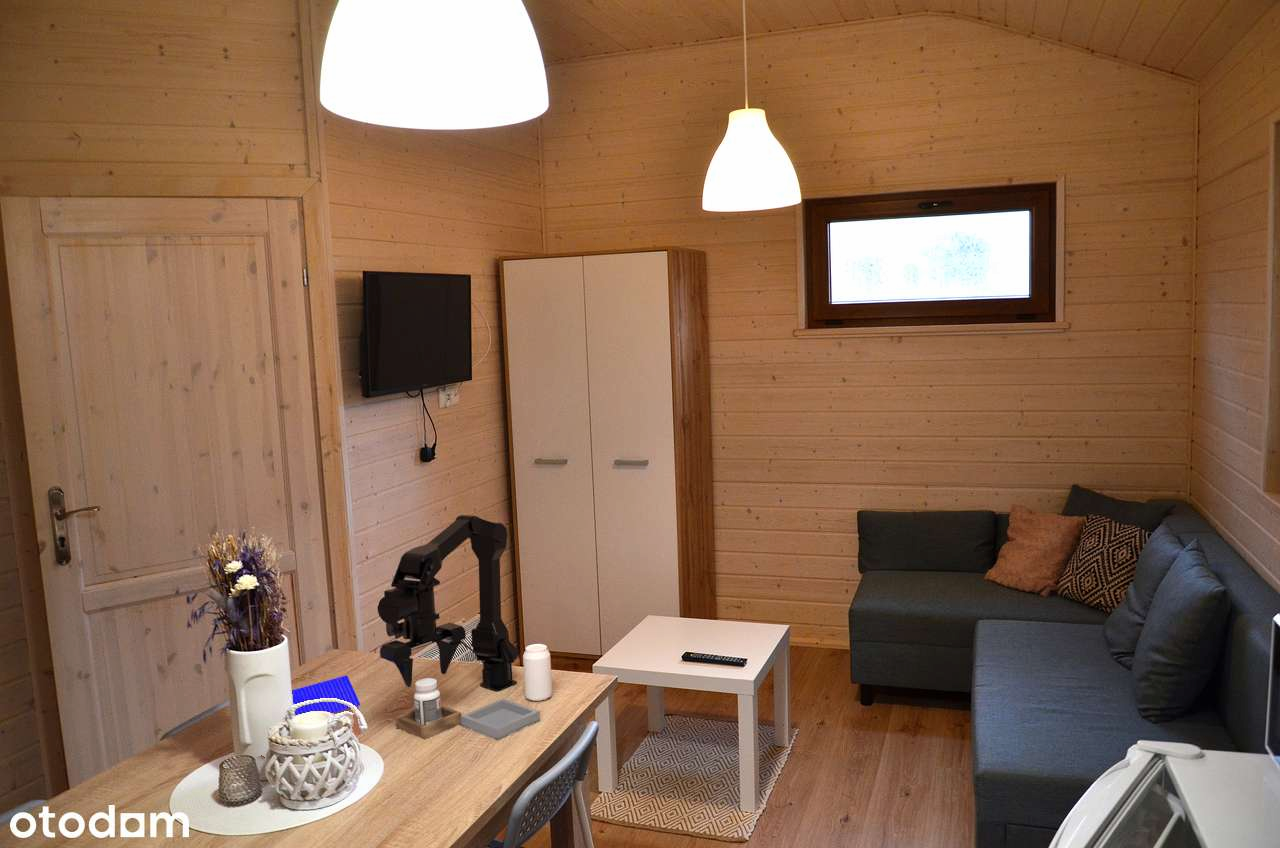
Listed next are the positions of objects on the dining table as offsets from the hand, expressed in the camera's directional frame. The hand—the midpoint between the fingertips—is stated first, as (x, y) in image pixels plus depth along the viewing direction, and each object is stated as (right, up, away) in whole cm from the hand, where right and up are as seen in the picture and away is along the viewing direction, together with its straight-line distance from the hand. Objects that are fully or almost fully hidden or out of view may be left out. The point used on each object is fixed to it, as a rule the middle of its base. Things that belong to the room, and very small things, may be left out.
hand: (426, 680), depth 214 cm
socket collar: (0, -10, +1) cm, 10 cm away
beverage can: (+23, -8, +14) cm, 28 cm away
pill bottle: (0, -10, +1) cm, 10 cm away
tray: (+16, -10, +1) cm, 19 cm away
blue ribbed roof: (-25, -12, -3) cm, 28 cm away
